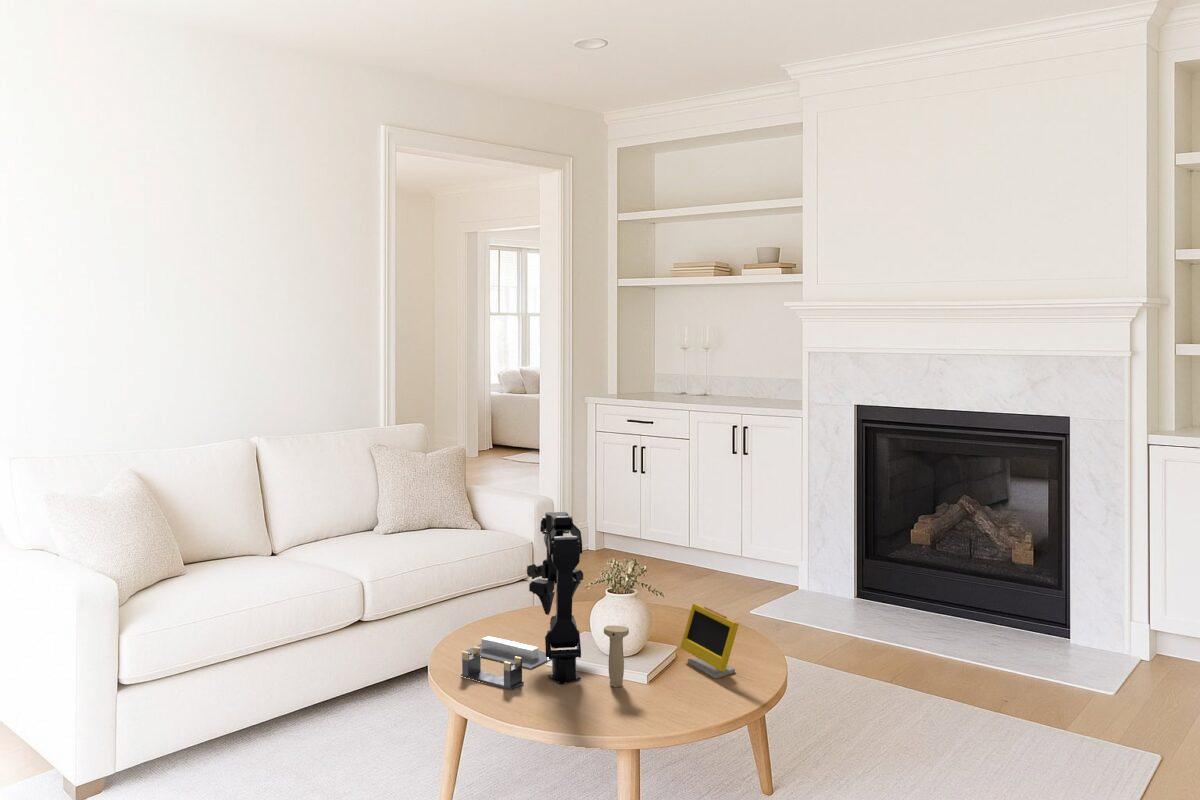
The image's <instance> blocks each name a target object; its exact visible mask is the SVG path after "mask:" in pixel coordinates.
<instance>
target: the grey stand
mask: <svg viewBox="0 0 1200 800" xmlns="http://www.w3.org/2000/svg"><path fill="white" fill-rule="evenodd" d="M472 648H473V655H470V654H469V652H465V651H466V650H464V651H461V655H462V656H461V660H462V661H461V663H462V664H461V667H462V671H461V672H462V673H461V674H460V677H461V676H463V677H466V678H470V679H474V680H477V681H480V682H479V683H481V682H483V683H482V684H484V683H486V684H485V685H488V684H490V685H489V686H492V685H493V686H492V687H496V688H499V689H503V690H506V691H507V690H508V691H511V692H512V691H514V690H516V689H518V688H520V687H522V686H523V685H524V683H525V681H523V668H522V658H521V657H517V656H515V657H514V664H515V665H511V663H510V662H506V661H505V662H504V663H503V675H501V674H496V673H492V672H490V671H489V672H488V671H485V670H482V666H481V662H482V661H481V659H482V657H480V647H475V646H473V647H472ZM466 678H465V679H466ZM477 681H476V682H477Z"/></svg>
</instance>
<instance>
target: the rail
mask: <svg viewBox="0 0 1200 800" xmlns="http://www.w3.org/2000/svg"><path fill="white" fill-rule="evenodd" d="M481 644H482V649H484V650H488V651H492V652H496V653H501V654H505V655H509V656H513V657H515V656H517V657H521V658H522V659H525V660H529V661H533V660H535V659H537V658H539V651H540V650H539V647H538V646H534V645H529V644H526V643H521V642H518V641H512V640H508V639H503V638H500V637H495V636H491V635H487V636H484V637H482V638H481Z"/></svg>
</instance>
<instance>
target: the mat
mask: <svg viewBox="0 0 1200 800" xmlns="http://www.w3.org/2000/svg"><path fill="white" fill-rule="evenodd" d="M475 647H480V656H481V657H480V658H482V657H484V658H483V659H486V658H488V659H487V660H490V659H492V660H491V661H494V660H496V661H495V662H498V661H499V662H498V663H502V664H504V662H505V661H506V662H510V663H511V666H512V665H515V664H514V657H513V656H509V655H505V654H501V653H496V652H492V651H488V650H484V649H482V643H480V644H478V645H476V646H475ZM464 651H465V652H469V653H470V654H473V647H470V648H468V649H466V650H464ZM470 654H469V655H470ZM547 662H548V661H547V657H546V651H540V650H539V658H537V659H535V660H533V661H529V660H525V659H522V669H527V670H530V671H531V670H533V669H535V668H537V667H540V666H541V665H543V664H545V663H547Z"/></svg>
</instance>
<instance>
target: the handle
mask: <svg viewBox="0 0 1200 800" xmlns="http://www.w3.org/2000/svg"><path fill="white" fill-rule="evenodd" d="M629 633H630V629H629V627H627V626H623V625H615V624H613V625H606V626H605V627H603V634H604V635H605V636H607V637H609V650H608V651H609V653H608V676H609V685H610V686H611V687H613V688H621V687H622V686H623V684H624V680H623V679H624V675H625V673H624V672H625V659H624V657H625V655H624V638H625V637H627V636H628V635H629Z"/></svg>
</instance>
